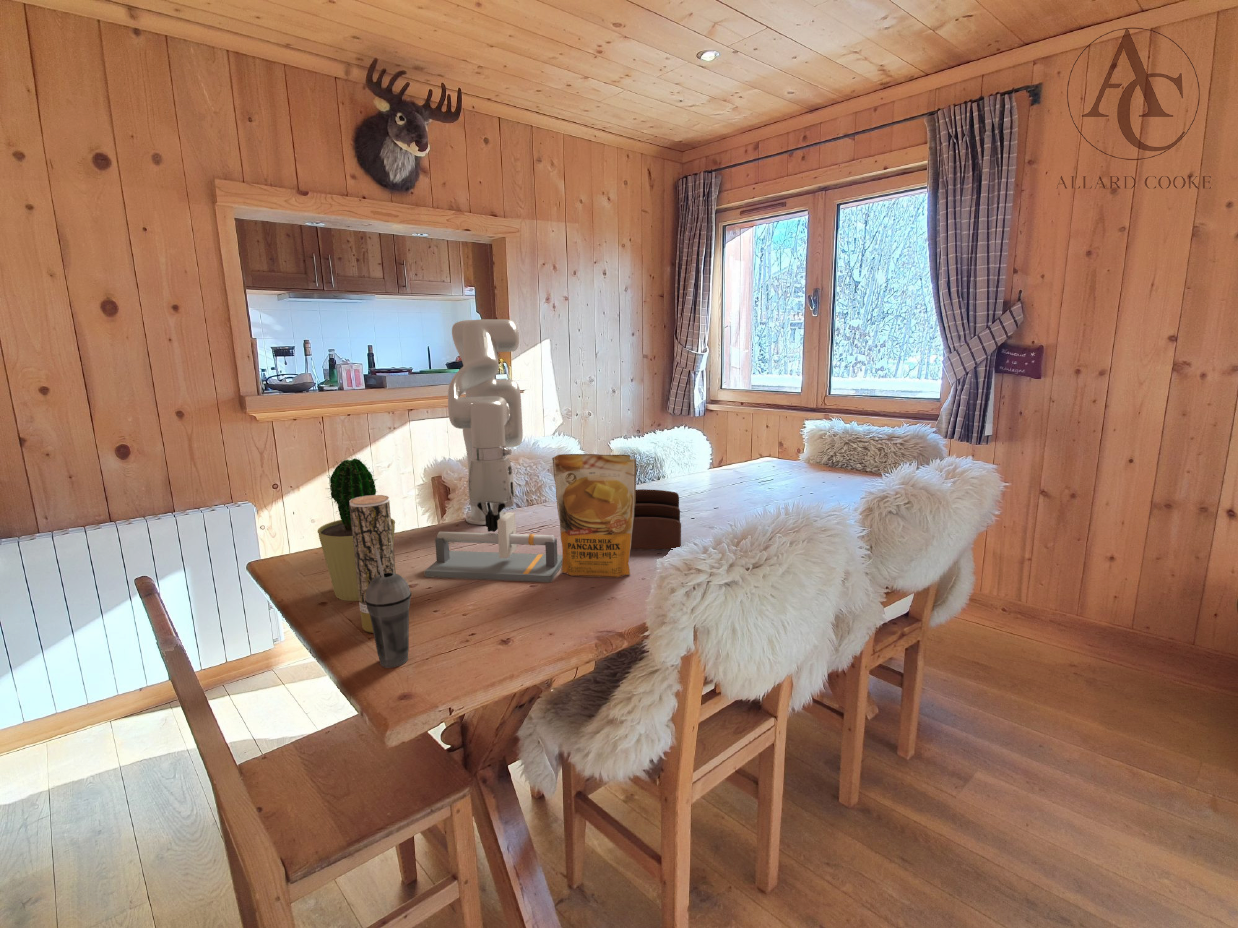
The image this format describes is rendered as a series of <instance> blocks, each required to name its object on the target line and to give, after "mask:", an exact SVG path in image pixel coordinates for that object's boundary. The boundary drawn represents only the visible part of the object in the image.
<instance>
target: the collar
mask: <svg viewBox="0 0 1238 928" xmlns="http://www.w3.org/2000/svg"><path fill="white" fill-rule="evenodd" d="M497 523H498V529H497V534H498V542H499V544H498V552H499V558H508V557H509V556H510V555H511V554H512V553H515V551H516V550H517V549H518V548H517V546H518V544H510V541H509V534H517V525H516V524H517V523H516V512H506V514H505V515H503V516H502V517H501V518H500V519H499V520H497Z"/></svg>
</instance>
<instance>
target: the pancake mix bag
mask: <svg viewBox="0 0 1238 928" xmlns="http://www.w3.org/2000/svg"><path fill="white" fill-rule="evenodd" d="M551 459H552V468H553V480H554V485H555V486H554V487H555V498H556V499H555V501H556V507H557V515H558V519H559V529H560V531H559V532H560V541H561V549H562V554H561V555H562V566H561V568H560V573H562V574H564V573H565V574H567V575H568V576H570V577H582V578H583V577H584V578H607V579H608V578H609V579H610V578H611V579H614V578H615V579H616V578H617V579H619V578H620V579H621V578H622V577H623V576H628V575H629V576H630V575H631V569H630V565H629V561H630V556H631V555H630V554H631V550H630V549H631V539H632V529H633V520H634V507H635V501H636V490H637V488H636V487H637V473H638V472H637V471H638V469H637V468H638V467H637V461H636V458H631V455H629V454H597V453H564V454H557V455H555V456H553V457H552V458H551Z"/></svg>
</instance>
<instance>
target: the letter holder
mask: <svg viewBox="0 0 1238 928" xmlns="http://www.w3.org/2000/svg"><path fill="white" fill-rule="evenodd" d="M680 546H681V547H682V522H681V509H680V496H679V493H678V492H675V491H669V490H661V489H643V488H642V489H636V501H635V507H634V520H633V529H632V539H631V549H671V548H676V547H680Z"/></svg>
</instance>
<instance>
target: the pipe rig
mask: <svg viewBox="0 0 1238 928" xmlns="http://www.w3.org/2000/svg"><path fill="white" fill-rule="evenodd" d="M509 541H510V544H517V545H526V546H545V553H528V552H527V553H525V552H523V553H522V552H513V553H512V554H511V555H510V556H509V557H508V558H499V551H498V552H491V551H467V550H466V551H465V550H464V551H463V550H450V545H449V544H450V543H463V544H464V543H465V544H467V543H468V544H469V543H470V544H491V545H493V544H497V545H499V542H498V532H497V533H495V532H493V533H491V532H462V531H459V532H458V531H439V532H438V533H437V537H435V538H434V544H435V556H436V557H435V558H436V559H435V560H436V561H435V562H433V563H432V564H431V565H429V567H427V568H426V569H425V570H424V577H425V578H441V579H442V578H444V579H445V578H446V579H465V580H466V579H467V580H468V579H469V580H490V581H492V580H493V581H511V582H512V581H515V582H534V583H535V582H539V583H552V582H553V580H554V579H555V577H556V576H557V574H558V572H559V571H560V570H561V567H562V554H558V539H557V538H555V535H553V534H535V533H532V534H531V533H529V534H526V533H524V534H521V533H520V534H519V533H516V534H509Z"/></svg>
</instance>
